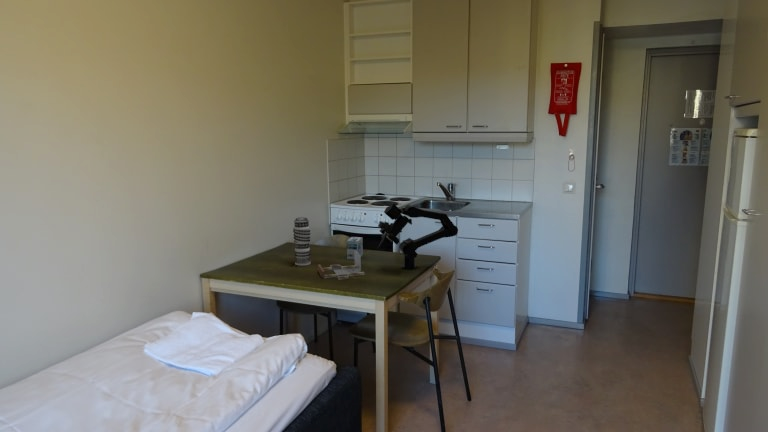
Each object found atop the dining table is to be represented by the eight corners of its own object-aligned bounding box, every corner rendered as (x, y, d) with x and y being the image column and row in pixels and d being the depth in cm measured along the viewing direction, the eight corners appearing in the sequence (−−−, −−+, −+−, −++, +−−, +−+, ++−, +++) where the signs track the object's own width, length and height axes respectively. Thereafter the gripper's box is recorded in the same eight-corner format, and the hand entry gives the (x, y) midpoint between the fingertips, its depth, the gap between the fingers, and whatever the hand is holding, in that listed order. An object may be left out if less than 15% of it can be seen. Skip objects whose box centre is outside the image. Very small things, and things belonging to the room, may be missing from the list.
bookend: (356, 269, 270) (356, 250, 268) (360, 274, 261) (360, 255, 259) (333, 271, 266) (333, 252, 265) (337, 276, 257) (336, 256, 256)
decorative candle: (290, 264, 279) (289, 218, 275) (301, 260, 288) (299, 215, 283) (304, 266, 275) (303, 219, 271) (314, 262, 283) (313, 217, 279)
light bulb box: (358, 260, 288) (358, 241, 287) (346, 259, 290) (346, 240, 288) (363, 255, 299) (362, 236, 297) (351, 254, 300) (351, 236, 298)
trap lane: (356, 265, 276) (356, 259, 276) (366, 277, 255) (366, 270, 254) (316, 268, 270) (316, 262, 270) (324, 281, 249) (324, 274, 248)
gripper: (382, 213, 274) (363, 235, 273) (391, 218, 256) (371, 242, 255) (397, 226, 277) (378, 248, 276) (407, 232, 259) (387, 256, 258)
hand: (378, 248), depth 266 cm, fingers closed
